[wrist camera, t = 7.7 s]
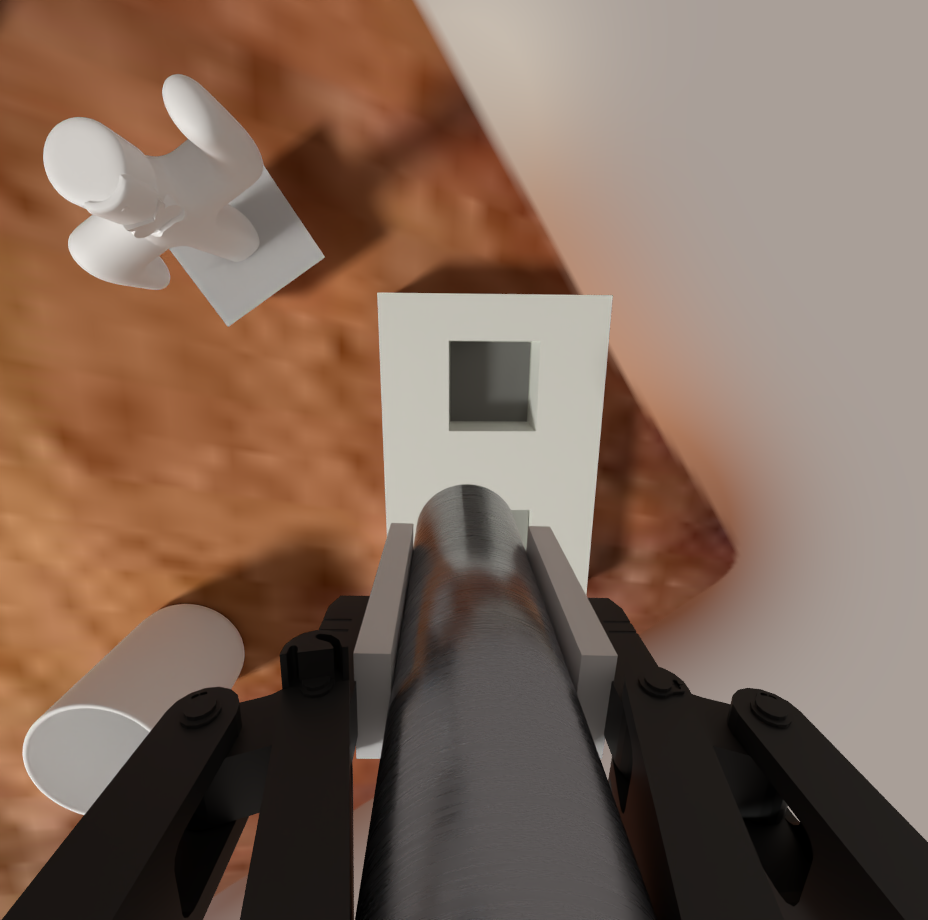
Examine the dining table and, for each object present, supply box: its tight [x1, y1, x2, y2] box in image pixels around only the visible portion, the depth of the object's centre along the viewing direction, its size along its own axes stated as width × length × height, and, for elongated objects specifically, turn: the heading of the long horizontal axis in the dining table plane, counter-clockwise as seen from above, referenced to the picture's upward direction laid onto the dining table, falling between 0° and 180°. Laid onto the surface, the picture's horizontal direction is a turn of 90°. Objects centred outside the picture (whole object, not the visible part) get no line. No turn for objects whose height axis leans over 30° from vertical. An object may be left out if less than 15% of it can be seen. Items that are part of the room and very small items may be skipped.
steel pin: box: [355, 484, 657, 920], centre depth 12 cm, size 4×4×14 cm
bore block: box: [377, 293, 613, 594], centre depth 32 cm, size 22×14×4 cm, turn 0°
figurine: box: [43, 74, 325, 327], centre depth 23 cm, size 7×9×15 cm
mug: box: [23, 604, 245, 815], centre depth 33 cm, size 9×12×11 cm
